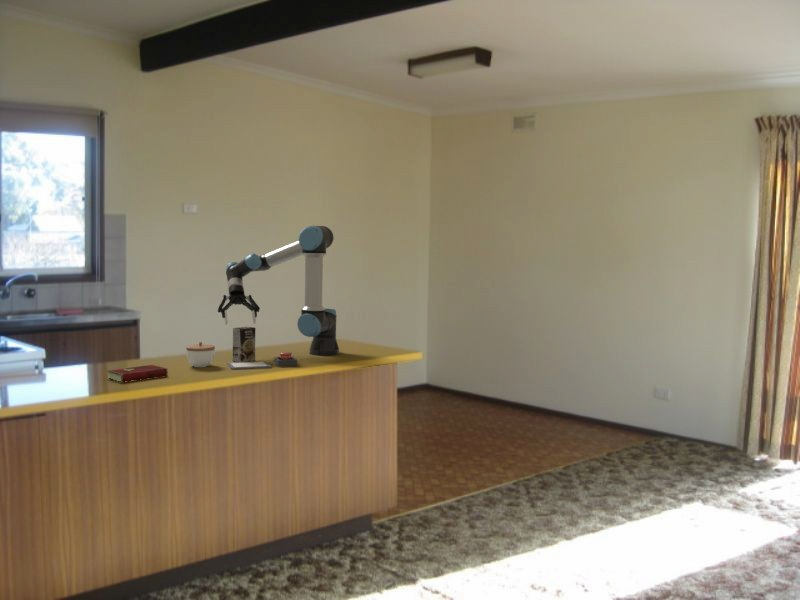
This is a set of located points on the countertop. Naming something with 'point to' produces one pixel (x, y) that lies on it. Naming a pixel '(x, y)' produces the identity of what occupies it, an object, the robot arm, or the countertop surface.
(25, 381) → the countertop surface
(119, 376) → the hardcover book
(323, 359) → the countertop surface
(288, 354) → the button
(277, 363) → the button housing
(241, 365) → the board
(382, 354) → the countertop surface
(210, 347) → the lidded bowl
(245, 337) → the coffee box
